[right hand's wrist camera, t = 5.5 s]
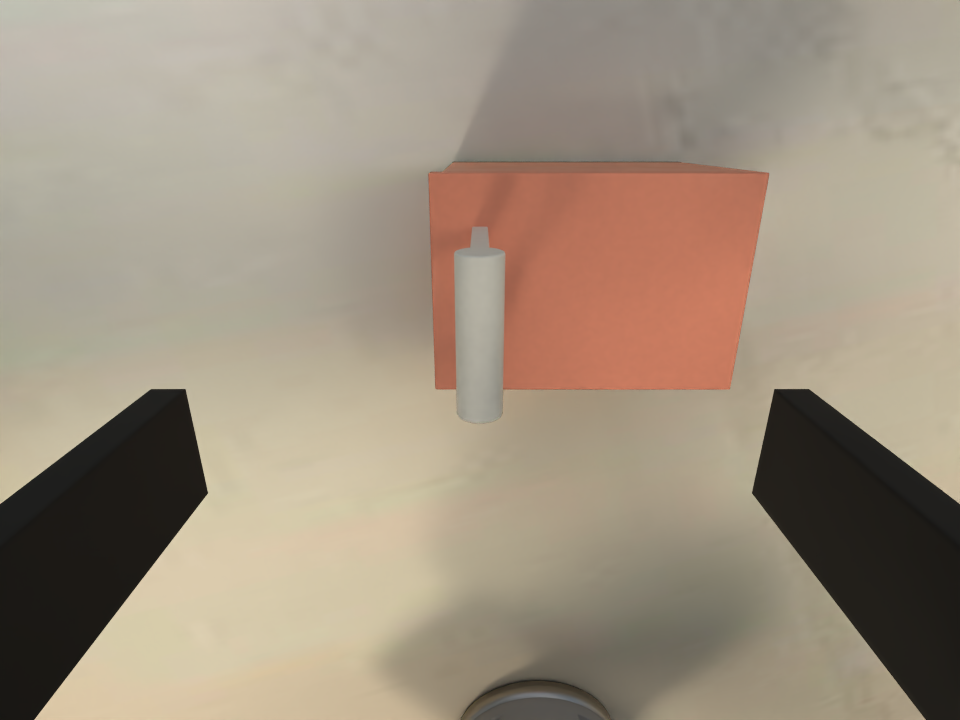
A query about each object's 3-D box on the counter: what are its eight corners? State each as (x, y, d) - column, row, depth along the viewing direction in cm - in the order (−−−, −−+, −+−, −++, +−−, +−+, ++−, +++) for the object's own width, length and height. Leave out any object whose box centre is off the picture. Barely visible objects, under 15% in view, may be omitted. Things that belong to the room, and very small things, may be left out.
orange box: (436, 382, 28) (420, 474, 21) (430, 171, 25) (406, 187, 17) (722, 382, 28) (814, 474, 21) (760, 171, 25) (890, 187, 17)
